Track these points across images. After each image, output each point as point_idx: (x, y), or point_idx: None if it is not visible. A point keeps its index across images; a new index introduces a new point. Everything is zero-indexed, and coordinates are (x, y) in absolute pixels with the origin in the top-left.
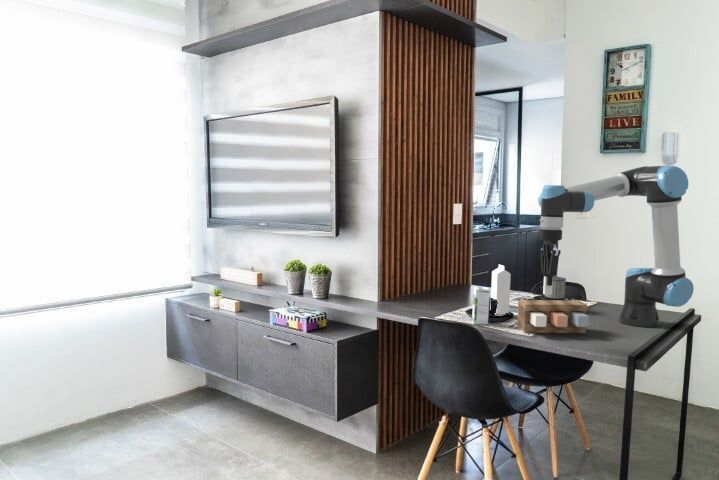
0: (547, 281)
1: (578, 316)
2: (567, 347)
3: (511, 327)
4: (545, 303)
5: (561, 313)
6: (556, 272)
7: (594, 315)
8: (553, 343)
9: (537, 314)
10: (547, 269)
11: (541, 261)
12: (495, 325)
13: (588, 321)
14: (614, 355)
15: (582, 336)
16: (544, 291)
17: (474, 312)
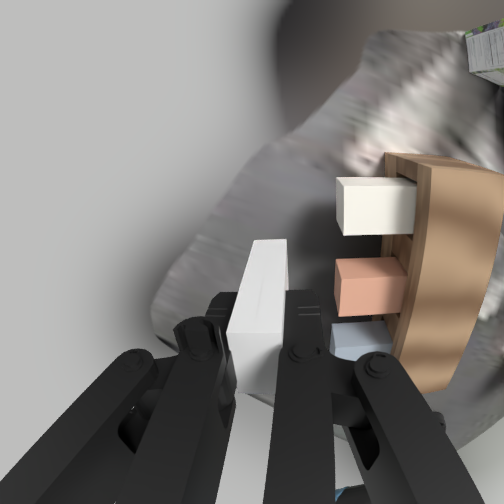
0: (231, 314)
1: (335, 347)
2: (215, 237)
3: (447, 136)
4: (440, 276)
5: (382, 308)
6: (131, 424)
7: (481, 384)
8: (255, 208)
9: (374, 204)
10: (163, 411)
11: (457, 484)
12: (465, 93)
13: None
14: (167, 320)
15: (336, 319)
16: (258, 249)
17: (487, 25)
